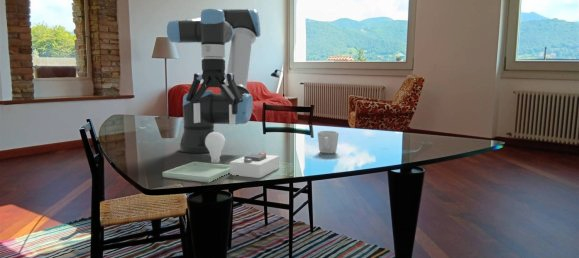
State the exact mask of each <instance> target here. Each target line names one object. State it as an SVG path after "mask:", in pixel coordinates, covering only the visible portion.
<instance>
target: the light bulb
mask: <svg viewBox="0 0 579 258" xmlns="http://www.w3.org/2000/svg"><path fill="white" fill-rule="evenodd" d="M225 144H226V139H225V136H224V135H223V134H222V133H221V132H218V131H214V132H211V133H209V134H208V135H207V137H206V139H205V145H206V147H207V148H208V150H209V152H208V153H209V155H210V159H211V161H210V163H215V164H220V163H221V158H220V157H221V154H222V151H223V149H224V147H225Z"/></svg>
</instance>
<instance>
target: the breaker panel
mask: <svg viewBox="0 0 579 258" xmlns="http://www.w3.org/2000/svg"><path fill="white" fill-rule="evenodd" d="M250 154H251V153H249V154H248V155H250ZM258 154H263V155H266V159H264V160H261V161H252V159H249V158H247V159H244V156H241V157H239V158H236V159H233V160H232V161H229V165H230V174H232V175H231V176H236V175H239V176H238V177H244V178H245V177H248V178H255V179H260V178H263V177H265V176H267V175H268V174H270V173H273V172H274V171H277V170H278V169H280V155H270V154H267V153H266V152H259V153H258Z"/></svg>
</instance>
